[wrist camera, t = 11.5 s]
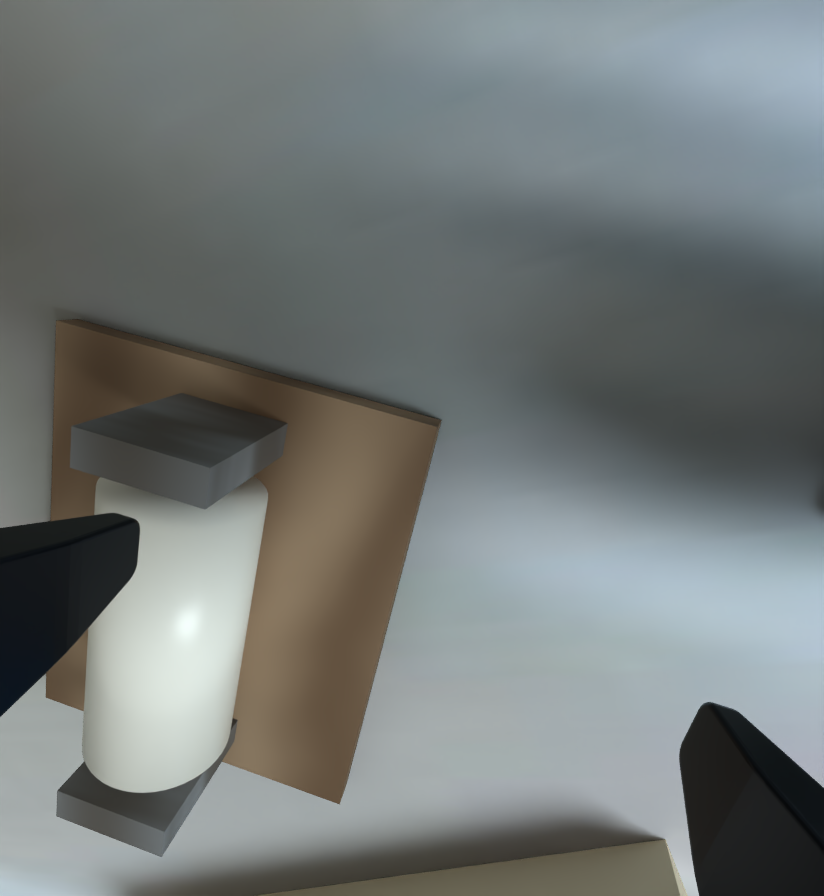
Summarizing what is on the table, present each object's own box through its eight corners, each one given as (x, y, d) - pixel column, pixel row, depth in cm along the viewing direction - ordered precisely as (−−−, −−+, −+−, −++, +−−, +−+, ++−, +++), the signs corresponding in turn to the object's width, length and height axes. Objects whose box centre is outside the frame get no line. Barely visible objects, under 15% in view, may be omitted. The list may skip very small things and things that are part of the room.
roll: (292, 483, 19) (217, 546, 15) (253, 704, 22) (181, 814, 18) (164, 445, 20) (53, 493, 15) (144, 665, 23) (45, 762, 18)
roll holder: (441, 419, 19) (408, 476, 13) (346, 783, 24) (293, 936, 18) (77, 319, 20) (-94, 330, 15) (63, 682, 25) (-67, 794, 20)
